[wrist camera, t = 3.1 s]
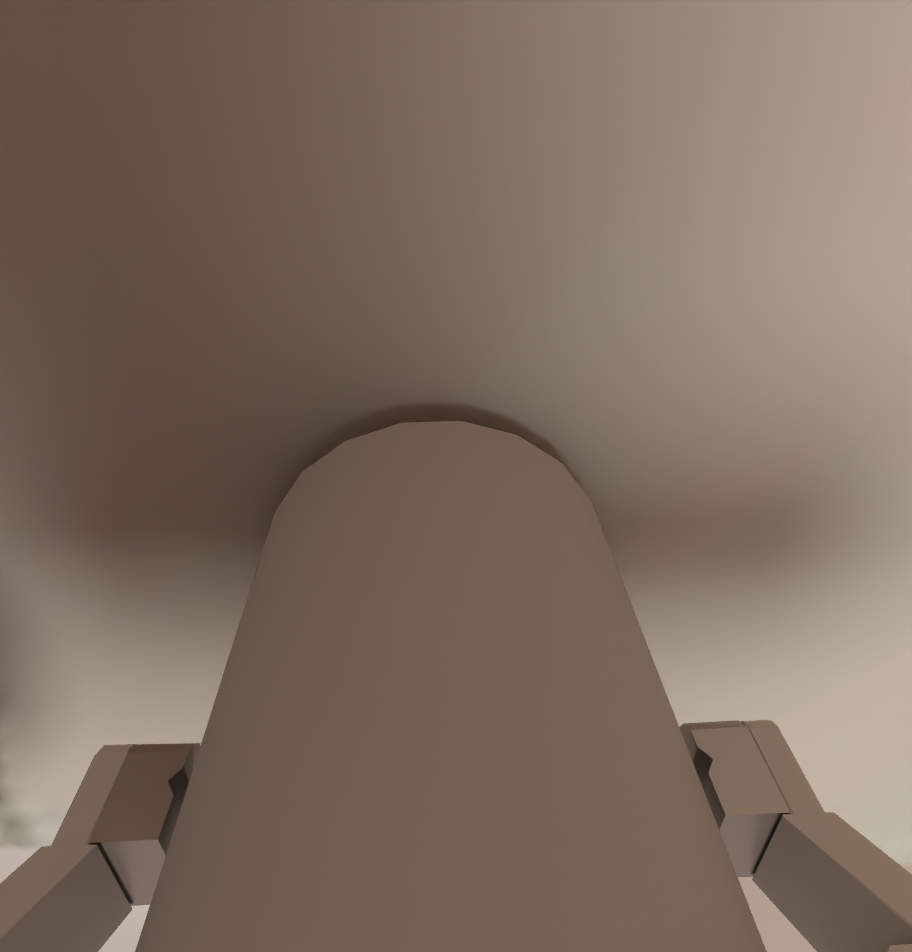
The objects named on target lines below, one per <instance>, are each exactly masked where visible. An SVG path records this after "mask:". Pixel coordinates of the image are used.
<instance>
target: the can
mask: <svg viewBox="0 0 912 952" xmlns="http://www.w3.org/2000/svg"><path fill="white" fill-rule="evenodd" d="M135 952H766V949H765V947H764V944H763V941H762V939H761V936H760V934H759V931H758V929H757V926H756V923H755V921H754V918H753V916H752V913H751V911H750V908H749V906H748V903H747V900H746V898H745V895H744V893H743V890H742V887H741V885H740V882H739V880H738V877H737V875H736V872H735V869H734V867H733V864H732V862H731V859H730V857H729V854H728V852H727V849H726V846H725V844H724V841H723V839H722V836H721V834H720V831H719V828H718V826H717V823H716V821H715V818H714V816H713V813H712V810H711V808H710V805H709V803H708V800H707V798H706V795H705V792H704V790H703V787H702V785H701V782H700V780H699V777H698V774H697V772H696V769H695V767H694V764H693V762H692V759H691V756H690V754H689V751H688V749H687V746H686V744H685V741H684V738H683V736H682V733H681V731H680V728H679V726H678V723H677V720H676V718H675V715H674V713H673V710H672V708H671V705H670V702H669V700H668V697H667V695H666V692H665V690H664V687H663V684H662V682H661V679H660V677H659V674H658V672H657V669H656V666H655V664H654V661H653V659H652V656H651V654H650V651H649V648H648V646H647V643H646V641H645V638H644V636H643V633H642V630H641V628H640V625H639V623H638V620H637V618H636V615H635V612H634V610H633V607H632V605H631V602H630V600H629V597H628V594H627V592H626V589H625V587H624V584H623V582H622V579H621V576H620V574H619V571H618V569H617V566H616V564H615V561H614V558H613V556H612V553H611V551H610V548H609V546H608V543H607V540H606V538H605V535H604V533H603V530H602V528H601V525H600V522H599V520H598V517H597V515H596V512H595V510H594V507H593V504H592V502H591V499H590V498H589V497H588V496H587V494H586V493H585V492H584V490H583V489H582V488H581V487H580V485H579V484H578V483H577V481H576V480H575V479H574V478H573V476H572V475H571V474H570V473H569V471H568V470H567V469H566V467H565V466H564V465H563V464H562V463H561V462H560V461H558V460H557V459H555V458H553V457H552V456H550V455H549V454H547V453H545V452H544V451H542V450H540V449H539V448H537V447H536V446H534V445H532V444H531V443H529V442H528V441H526V440H524V439H523V438H521V437H520V436H518V435H515V434H511V433H507V432H503V431H499V430H495V429H492V428H488V427H484V426H480V425H476V424H472V423H468V422H464V421H439V422H409V423H399V424H396V425H393V426H389V427H386V428H383V429H380V430H377V431H374V432H371V433H368V434H365V435H362V436H359V437H356V438H353V439H350V440H347V441H345V442H343V443H342V444H340V445H339V446H338V447H336V448H335V449H333V450H332V451H331V452H329V453H328V454H326V455H325V456H324V457H322V458H321V459H319V460H318V461H317V462H315V463H314V464H312V465H311V466H310V467H308V468H307V469H305V470H304V471H303V472H302V473H301V474H300V476H299V477H298V478H297V480H296V481H295V483H294V484H293V486H292V487H291V489H290V490H289V492H288V493H287V495H286V496H285V498H284V499H283V501H282V502H281V503H280V505H279V506H278V508H277V509H276V511H275V514H274V517H273V520H272V523H271V526H270V529H269V532H268V536H267V539H266V542H265V545H264V548H263V551H262V554H261V558H260V561H259V564H258V567H257V570H256V573H255V576H254V580H253V583H252V586H251V589H250V592H249V595H248V598H247V602H246V605H245V608H244V611H243V614H242V617H241V621H240V624H239V627H238V630H237V633H236V636H235V639H234V643H233V646H232V649H231V652H230V655H229V658H228V661H227V665H226V668H225V671H224V674H223V677H222V680H221V683H220V687H219V690H218V693H217V696H216V699H215V702H214V706H213V709H212V712H211V715H210V718H209V721H208V724H207V728H206V731H205V734H204V737H203V740H202V743H201V746H200V750H199V753H198V756H197V759H196V762H195V765H194V768H193V772H192V775H191V778H190V781H189V784H188V787H187V790H186V794H185V797H184V800H183V803H182V806H181V809H180V813H179V816H178V819H177V822H176V825H175V828H174V831H173V835H172V838H171V841H170V844H169V847H168V850H167V853H166V857H165V860H164V863H163V866H162V869H161V872H160V875H159V879H158V882H157V885H156V888H155V891H154V894H153V898H152V901H151V904H150V907H149V910H148V913H147V916H146V920H145V923H144V926H143V929H142V932H141V936H140V938H139V942H138V945H137V948H136V951H135Z"/></svg>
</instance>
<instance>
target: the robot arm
mask: <svg viewBox="0 0 912 952" xmlns="http://www.w3.org/2000/svg"><path fill="white" fill-rule="evenodd" d="M679 728H680V731H681V733H682V736H683V738H684V741H685V744H686V746H687V749H688V751H689V754H690V756H691V759H692V762H693V764H694V767H695V769H696V772H697V774H698V777H699V780H700V782H701V785H702V787H703V790H704V792H705V795H706V798H707V800H708V803H709V805H710V808H711V810H712V813H713V816H714V818H715V821H716V823H717V826H718V828H719V831H720V834H721V836H722V839H723V841H724V844H725V846H726V849H727V852H728V854H729V857H730V859H731V862H732V864H733V867H734V869H735V872H736V875H737V877H753V879H752V880H753V881H754V882H755V883H756V885H758V887H759V888H760V889H761V890H762V891H763V892H764V893H765V894H766V895H767V897H768V898H769V899H770V900H771V901H772V902H773V903H774V904H775V905H776V907H777V908H778V909H779V910H780V911H781V912H782V913H783V914H784V915H785V916H786V918H787V919H788V920H789V921H790V922H791V923H792V924H793V925H794V926H795V928H796V929H797V930H798V931H799V932H800V933H801V934H802V935H803V936H804V938H806V940H807V941H808V942H809V943H810V944H811V945H812V946H813V948H814V949H816V951H817V952H912V875H911V874H910V873H909V872H908V871H907V870H905V869H904V868H903V867H902V866H900V865H899V864H898V863H897V862H895V861H894V860H893V859H892V858H890V857H889V856H888V855H887V854H885V853H884V852H883V851H882V850H880V849H879V848H878V847H877V846H875V845H874V844H873V843H872V842H870V841H869V840H868V839H867V838H865V837H864V836H863V835H862V834H860V833H859V832H858V831H857V830H855V829H854V828H853V827H852V826H850V825H849V824H848V823H847V822H845V821H844V820H843V819H842V818H840V817H839V816H838V815H836V814H835V813H834V812H824V810H823V808H822V806H821V804H820V802H819V801H818V799H817V797H816V795H815V793H814V792H813V790H812V788H811V786H810V784H809V782H808V781H807V779H806V777H805V775H804V773H803V771H802V770H801V768H800V766H799V764H798V762H797V760H796V759H795V757H794V755H793V753H792V751H791V750H790V748H789V746H788V744H787V742H786V740H785V739H784V737H783V735H782V733H781V731H780V729H779V728H778V726H777V725H776V724H775V723H774V722H773V721H770V720H756V721H720V722H702V723H684V724H683V725H681V726H680V727H679ZM199 750H200V743H176V744H127V745H104V746H103V747H102V748H101V749H100V750H99V752H98V753H97V754H96V755H95V756H94V758H93V760H92V762H91V764H90V767H89V769H88V771H87V773H86V775H85V777H84V779H83V781H82V783H81V785H80V787H79V789H78V791H77V794H76V796H75V798H74V800H73V802H72V804H71V806H70V808H69V810H68V812H67V814H66V816H65V818H64V821H63V823H62V825H61V827H60V829H59V831H58V833H57V835H56V837H55V839H54V841H53V843H52V845H51V846H46V847H41V848H40V849H39V850H37V851H36V852H35V853H34V854H33V855H32V856H31V857H30V858H28V859H27V860H26V861H25V862H24V863H23V864H22V865H21V866H20V867H18V868H17V869H16V870H15V871H14V872H13V873H12V874H11V875H9V876H8V877H7V878H6V879H5V880H4V881H3V882H2V883H1V884H0V952H98V951H99V950H100V949H101V947H102V946H103V945H104V944H105V942H106V941H107V940H108V939H109V937H110V936H111V935H112V934H113V932H114V931H115V930H116V929H117V928H118V926H119V925H120V924H121V922H122V921H123V920H124V919H125V918H126V916H127V915H128V914H129V913H130V911H131V910H132V907H131V906H135V905H148V904H151V901H152V898H153V894H154V891H155V888H156V885H157V882H158V879H159V875H160V872H161V869H162V866H163V863H164V860H165V857H166V853H167V850H168V847H169V844H170V841H171V838H172V835H173V831H174V828H175V825H176V822H177V819H178V816H179V813H180V809H181V806H182V803H183V800H184V797H185V794H186V790H187V787H188V784H189V781H190V778H191V775H192V772H193V768H194V765H195V762H196V759H197V756H198V753H199Z"/></svg>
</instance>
